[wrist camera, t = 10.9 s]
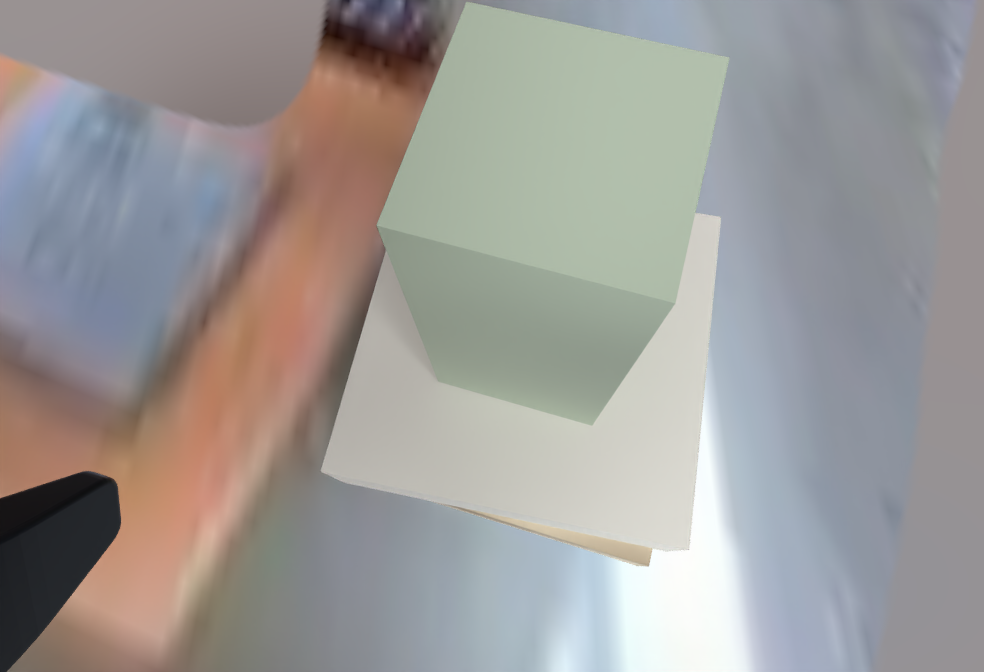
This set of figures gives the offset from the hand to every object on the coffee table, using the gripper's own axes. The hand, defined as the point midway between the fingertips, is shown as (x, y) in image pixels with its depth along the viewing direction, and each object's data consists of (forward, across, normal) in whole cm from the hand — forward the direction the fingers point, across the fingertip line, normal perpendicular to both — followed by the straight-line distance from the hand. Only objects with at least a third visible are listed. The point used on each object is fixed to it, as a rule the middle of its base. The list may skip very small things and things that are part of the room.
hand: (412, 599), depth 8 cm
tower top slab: (+12, 0, +2) cm, 13 cm away
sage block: (+11, 0, +1) cm, 11 cm away
